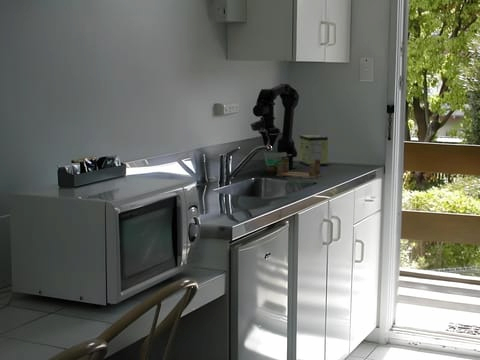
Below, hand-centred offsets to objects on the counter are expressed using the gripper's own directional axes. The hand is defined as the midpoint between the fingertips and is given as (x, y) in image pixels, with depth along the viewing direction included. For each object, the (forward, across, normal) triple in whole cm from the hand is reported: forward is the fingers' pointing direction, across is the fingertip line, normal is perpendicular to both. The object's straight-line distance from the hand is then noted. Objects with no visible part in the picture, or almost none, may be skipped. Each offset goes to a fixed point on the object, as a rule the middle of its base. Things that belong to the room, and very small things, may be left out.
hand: (268, 146), depth 357 cm
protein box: (+15, -25, +33) cm, 44 cm away
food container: (+14, -5, +4) cm, 15 cm away
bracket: (+13, +12, +11) cm, 21 cm away
